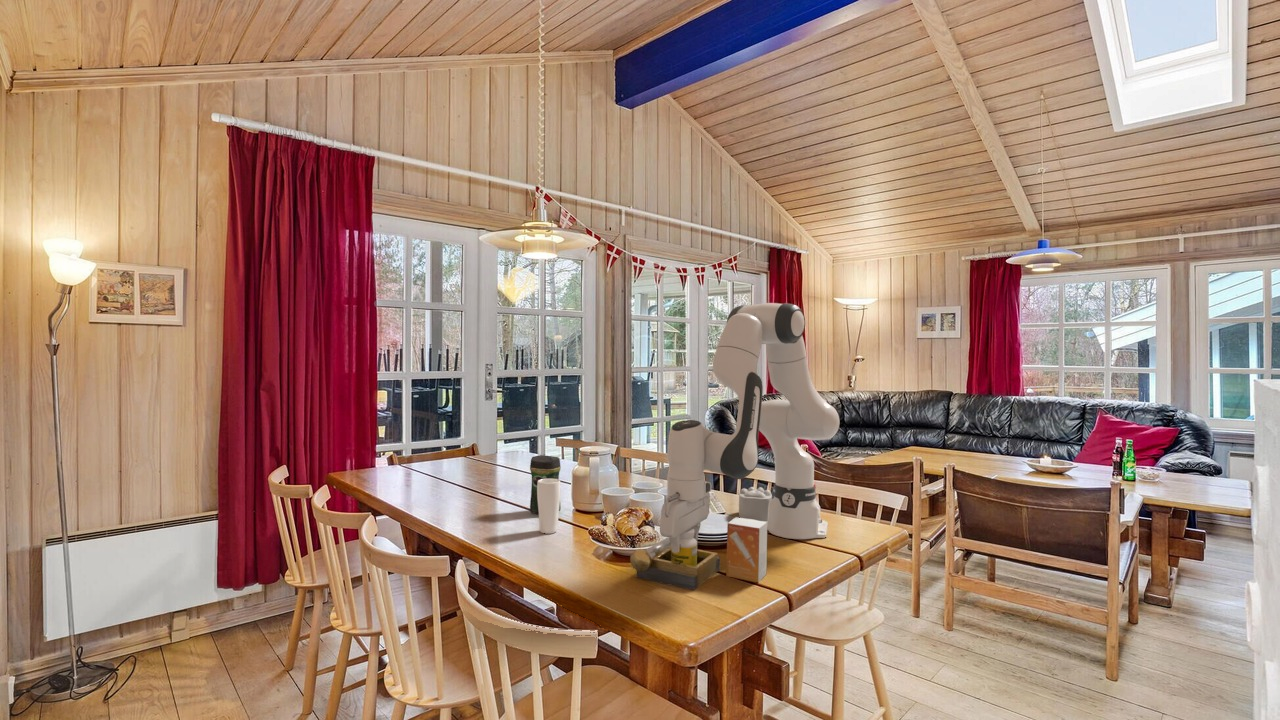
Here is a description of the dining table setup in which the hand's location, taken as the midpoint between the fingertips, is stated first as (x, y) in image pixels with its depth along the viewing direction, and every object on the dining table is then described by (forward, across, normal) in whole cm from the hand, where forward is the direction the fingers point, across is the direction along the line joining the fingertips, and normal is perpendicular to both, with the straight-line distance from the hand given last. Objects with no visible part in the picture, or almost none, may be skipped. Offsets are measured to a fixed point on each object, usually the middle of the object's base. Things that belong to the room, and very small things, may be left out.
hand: (685, 546), depth 149 cm
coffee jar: (+7, +26, +63) cm, 68 cm away
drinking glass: (+7, +10, +49) cm, 50 cm away
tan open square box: (+7, -1, +2) cm, 7 cm away
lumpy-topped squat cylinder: (+7, +59, +3) cm, 59 cm away
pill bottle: (+7, 0, 0) cm, 7 cm away
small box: (+7, +7, -13) cm, 16 cm away
